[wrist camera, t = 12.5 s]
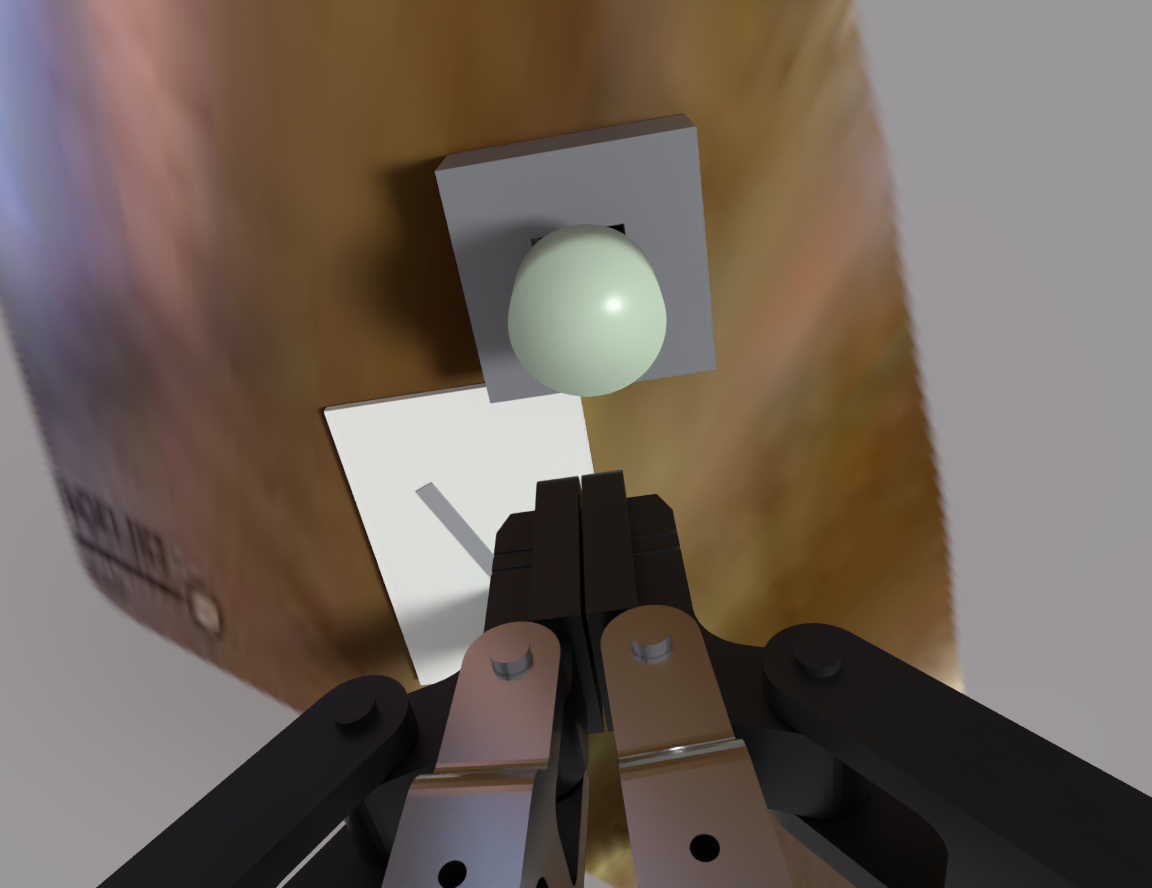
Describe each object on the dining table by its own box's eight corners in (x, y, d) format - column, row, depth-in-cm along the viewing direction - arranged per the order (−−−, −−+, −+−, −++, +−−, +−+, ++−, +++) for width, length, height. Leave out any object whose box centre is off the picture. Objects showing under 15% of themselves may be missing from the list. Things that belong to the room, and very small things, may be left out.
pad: (326, 407, 31) (323, 412, 31) (575, 369, 31) (575, 374, 30) (422, 678, 39) (420, 686, 38) (625, 653, 38) (626, 661, 38)
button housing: (447, 154, 27) (434, 171, 24) (683, 113, 26) (696, 126, 24) (496, 369, 31) (490, 403, 28) (703, 337, 30) (716, 369, 28)
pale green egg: (506, 211, 26) (492, 260, 21) (640, 189, 26) (657, 233, 21) (531, 336, 28) (524, 406, 23) (655, 316, 28) (674, 384, 23)
